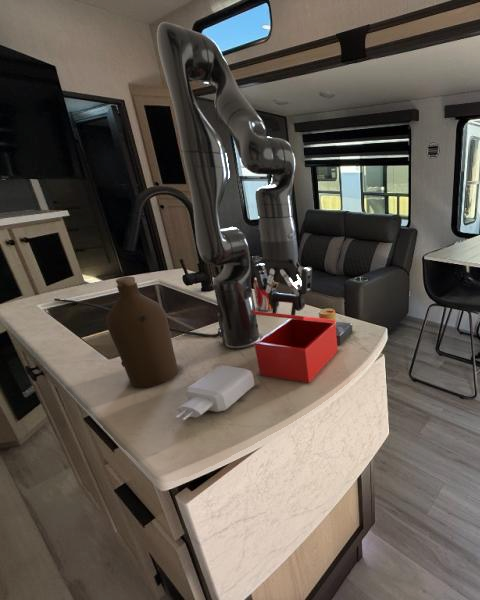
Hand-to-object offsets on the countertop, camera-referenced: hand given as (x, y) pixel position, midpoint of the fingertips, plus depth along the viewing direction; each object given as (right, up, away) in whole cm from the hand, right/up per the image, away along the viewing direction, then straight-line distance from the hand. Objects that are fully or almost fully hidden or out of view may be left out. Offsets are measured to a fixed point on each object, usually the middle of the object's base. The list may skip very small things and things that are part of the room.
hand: (287, 308), depth 76 cm
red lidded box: (+1, -15, +8) cm, 17 cm away
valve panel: (+5, -9, +23) cm, 25 cm away
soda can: (-23, -1, +44) cm, 50 cm away
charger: (-13, -21, -8) cm, 26 cm away
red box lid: (+1, -3, +4) cm, 5 cm away
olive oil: (-33, -17, +2) cm, 37 cm away
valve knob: (+5, -6, +22) cm, 23 cm away
